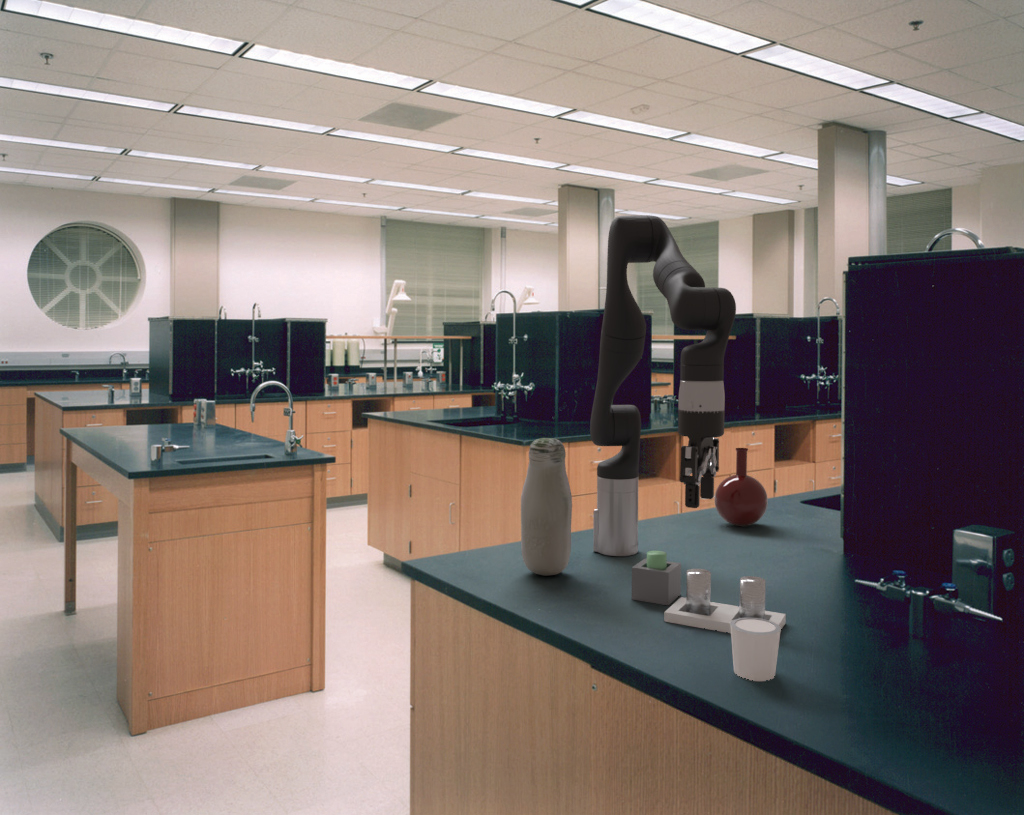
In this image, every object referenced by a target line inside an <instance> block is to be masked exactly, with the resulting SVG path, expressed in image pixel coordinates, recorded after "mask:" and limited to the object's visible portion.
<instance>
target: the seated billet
mask: <svg viewBox="0 0 1024 815" xmlns="http://www.w3.org/2000/svg"><path fill="white" fill-rule="evenodd" d="M739 607H740V613H739V618H759V619H765V611H766V579H765V578H762V577H759V576H753V575H745V576H741V577H740V578H739Z"/></svg>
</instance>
